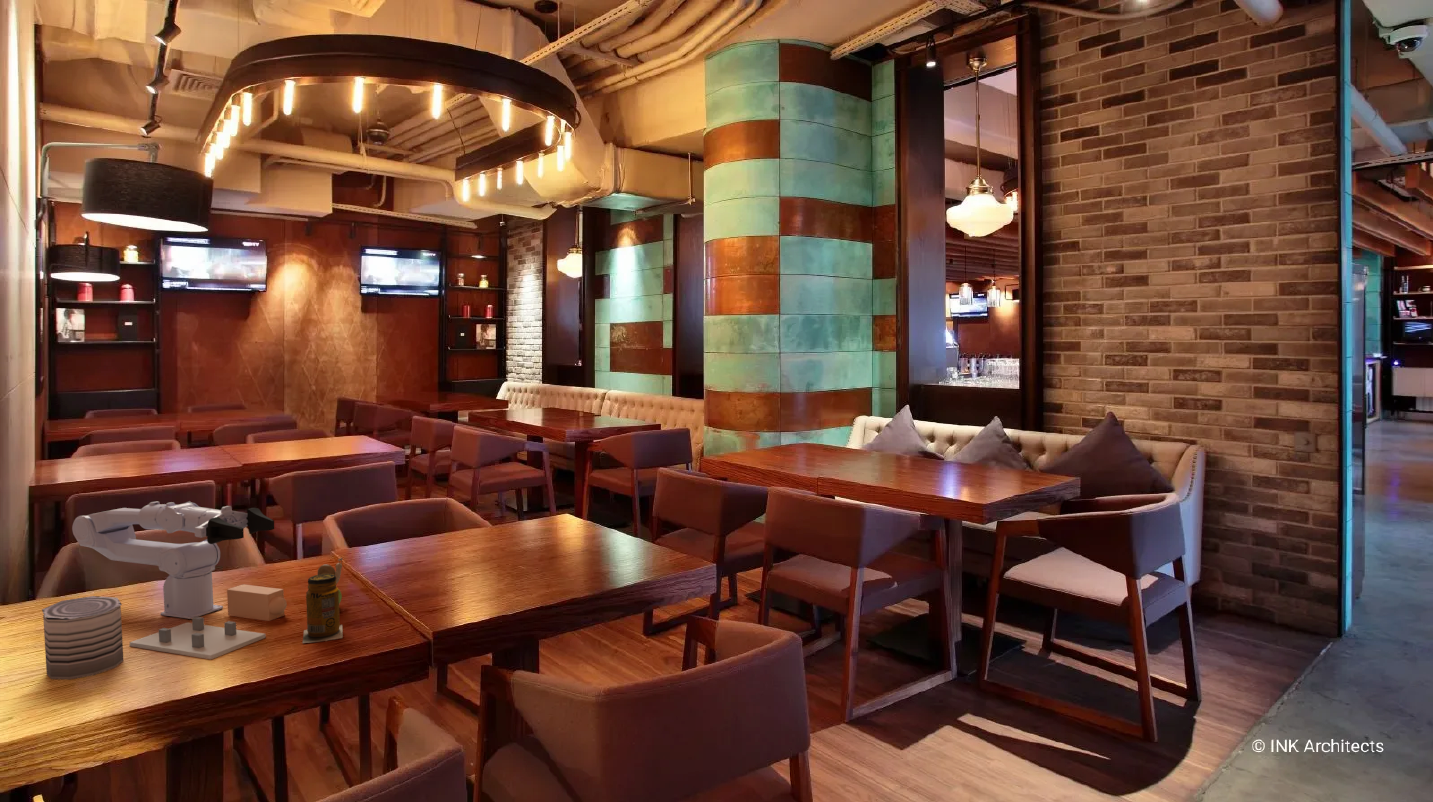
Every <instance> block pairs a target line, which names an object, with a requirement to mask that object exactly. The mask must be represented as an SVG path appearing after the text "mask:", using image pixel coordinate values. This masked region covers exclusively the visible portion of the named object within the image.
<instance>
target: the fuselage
mask: <svg viewBox="0 0 1433 802" xmlns="http://www.w3.org/2000/svg"><path fill="white" fill-rule="evenodd" d="M284 594H285V592H284V588H275V587H266V586H259V585H251V584H240V585H237V586H234V587H230V588H227V589H226V596H227V597H226V599H227V616H230V617H238V618H245V619H253V620H259V621H267V622H270V621H272V620H275V619H278V618H280V617H283V616H285V610H286V608H287V605H288V604H287V600H286V598H285V595H284Z"/></svg>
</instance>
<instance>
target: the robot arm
mask: <svg viewBox="0 0 1433 802" xmlns="http://www.w3.org/2000/svg"><path fill="white" fill-rule="evenodd" d="M232 509H233V507H232V506H231V505H226V506H222V507H221V509H217V508H216V509H215V508H210V507H201V506H199V505H198V504H197V503H195V502H191V501H186V502H183V503H180V504H176V503H175V502H174V501H173V502H172V501H171V502H167V503H166V504H165V503H164V504H163V503H162V504H160V501H151V502H149V503H148V504H147V505H144V506H143V507H142V508H130V507H128V508H127V507H122V508H121V507H120V508H117V509H115V508H114V509H111V510H106V511H101V512H99V511H98V512H96V513H95V512H94V513H90V514H87V515H78V516H77V517H75V519H73V523H72V526H71V527H72V528H71V529H72V530H71V531H72V534H73V536H74V539H76V541H77V542H78V545H79V546H80V547H87V548H90V549H92V550H94V551H96V552H98V553H99V554H101V555H103V556H104V557H106V558H107V559H108V560H111V561H116V562H117V561H118V562H125V563H133V564H142V565H151V566H157V567H158V570H159V571H160V572H165V573H167V574H168V576H167V577H166V579H165V580H164V582H163V586H162V587H163V588H162V590H163V591H162V593H163V609H164V611H162V612H160V615H161V616H167V617H174V618H180V619H189V620H192V618H194V617H202V616H204V615H207V614H210V613H212V612H215V611H218V610H219V611H220V610H221V609H223V608H224V606H223V605H218V604H214V589H213V571H215V570H216V565H217V564H218V563H219V562H220V559H221V550H220V547H219V546H218V543H220V542H223V541H227V540H228V541H232V540H240V539H244V538H245V536H244V535H245V534H244V529H246V528H247V527H249V528H248V529H249V535H250V534H254V533H258V532H261V531H264V532H265V531H267V532H268V531H273V530H275V520H273V518H270V517H268V516H266V515H265V514H263V512H262V511H261V510H260V508H258V507H251V508H248V509H247V510H246V511H247V512H244V511H236V510H232ZM133 525H139V526H140V527H141V528H143V529H145V530H153V531H155V530H156V531H157V530H161V531H164V530H165V531H166V533H167V534H173V533H175V532H178V531H182V532H188V533H193V534H194V538H195V537H196V538H205V537H206V539H204V540H202V541H200V542H188V543H172V542H166V541H165V542H162V541H154V540H145V539H144V540H143V539H137V535H136V532H135V529H134V526H133Z"/></svg>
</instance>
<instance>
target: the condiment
mask: <svg viewBox="0 0 1433 802" xmlns="http://www.w3.org/2000/svg"><path fill="white" fill-rule="evenodd" d="M307 579H308V580H307V591H306V594H305V597H306V599H305V600H306V601H305V602H306V623H307V624H306V628H307V629H304V630H303V636H302V644H306V643H308V644H310V643H320V642H324V641H325V642H327V641H332V640H338V639H343V637H344V636H343V632H344V631H343V624H341V623H340V603H339V591H338V589H339V588H338V587H337V584H338V583H336V576H335V575H333V574H320V575H318V574H316V575H313V576H310V577H309V578H307Z"/></svg>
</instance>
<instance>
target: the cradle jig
mask: <svg viewBox="0 0 1433 802" xmlns="http://www.w3.org/2000/svg"><path fill="white" fill-rule="evenodd" d="M191 620H192V621H191V622H187V621H186V622H185V623H181V624H179V625H176V626H173V627H170V628H166V627H162V628H159V629H158V632H156V633H155V632H154V633H153V634H149V635H146V636H144V637H142V638H137V639H135V640H132V641H130V642H129V647H133V648H139V649H145V650H150V651H157V652H163V653H170V654H175V655H181V656H187V657H194V658H198V659H199V658H200V659H206V660H213V659H215V658H218V657H221V656H223V655H226V654H229V653H231V652H234V651H235V650H238V649H241V648H243V647H245V646H248V645H251V644H253V643H256V642H259V641H261V640H263V639H266V633H262V632H255V631H249V630H243V629H242V630H241V629H237V622H236V621H229V620H228V621H226V622H224V625H223V627H222V626H221V627H220V626H214V625H208V624H205V622H204V621H205V618H204V617H202V616H198V617H194V618H192V619H191Z"/></svg>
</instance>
